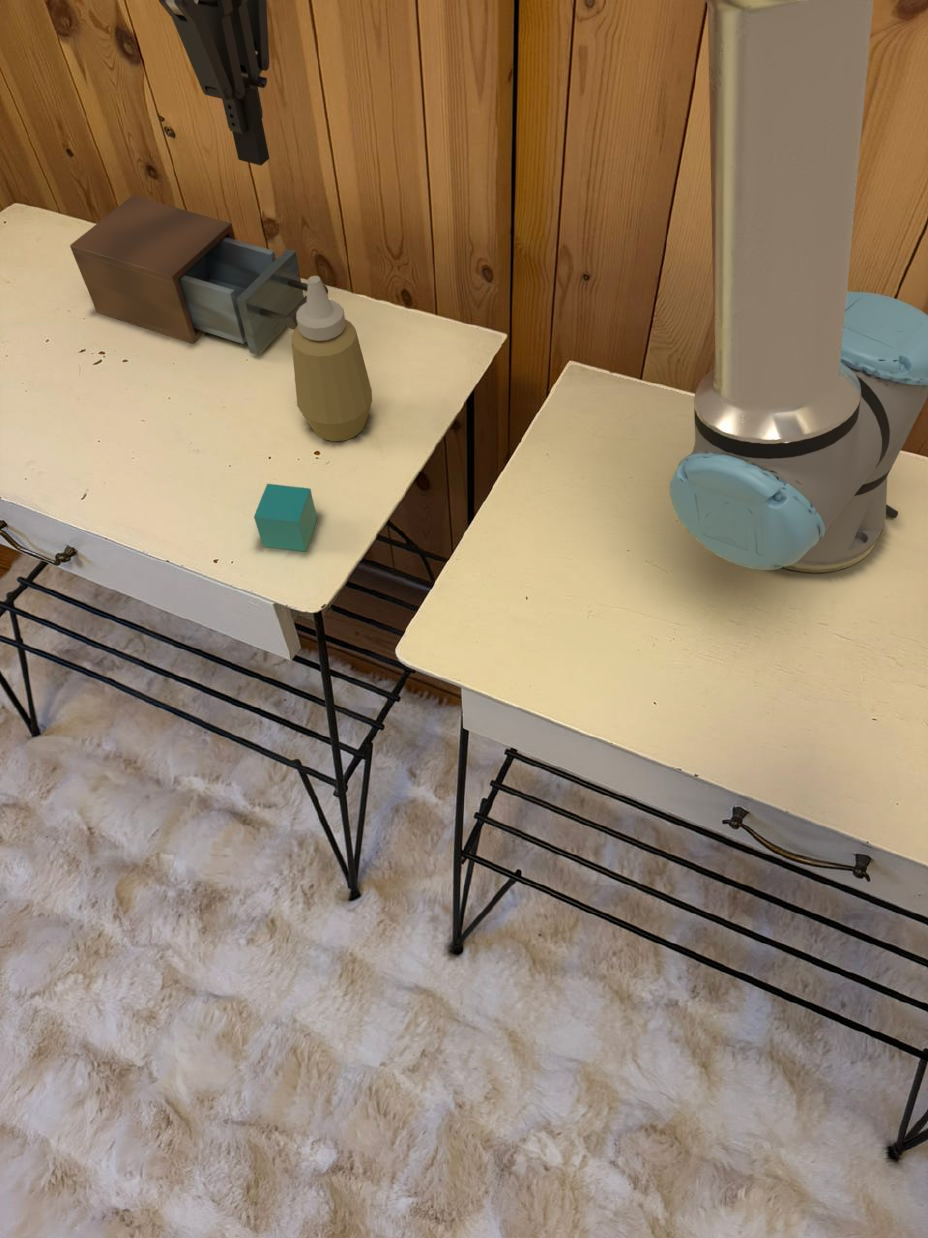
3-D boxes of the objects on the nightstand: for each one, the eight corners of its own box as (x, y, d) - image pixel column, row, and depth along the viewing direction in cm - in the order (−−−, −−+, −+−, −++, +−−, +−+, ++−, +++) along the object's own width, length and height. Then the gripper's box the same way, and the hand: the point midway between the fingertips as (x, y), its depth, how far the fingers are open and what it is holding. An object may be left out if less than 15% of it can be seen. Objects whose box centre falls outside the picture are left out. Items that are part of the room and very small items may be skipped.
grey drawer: (341, 315, 110) (332, 261, 104) (295, 367, 105) (283, 313, 99) (214, 277, 115) (199, 223, 109) (164, 325, 110) (145, 270, 104)
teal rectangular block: (317, 518, 93) (310, 488, 89) (305, 551, 90) (298, 522, 86) (275, 513, 93) (267, 483, 89) (262, 546, 91) (253, 516, 87)
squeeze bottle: (381, 400, 103) (363, 255, 88) (369, 451, 98) (349, 307, 83) (310, 397, 103) (281, 252, 88) (295, 447, 99) (262, 303, 84)
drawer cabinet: (248, 290, 115) (231, 222, 108) (193, 344, 109) (172, 276, 102) (154, 261, 119) (132, 194, 112) (96, 312, 113) (69, 245, 106)
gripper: (201, -170, 76) (259, 121, 95) (100, -119, 69) (183, 182, 89) (277, -159, 74) (320, 136, 93) (180, -105, 67) (248, 200, 87)
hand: (253, 158), depth 91 cm, fingers closed
